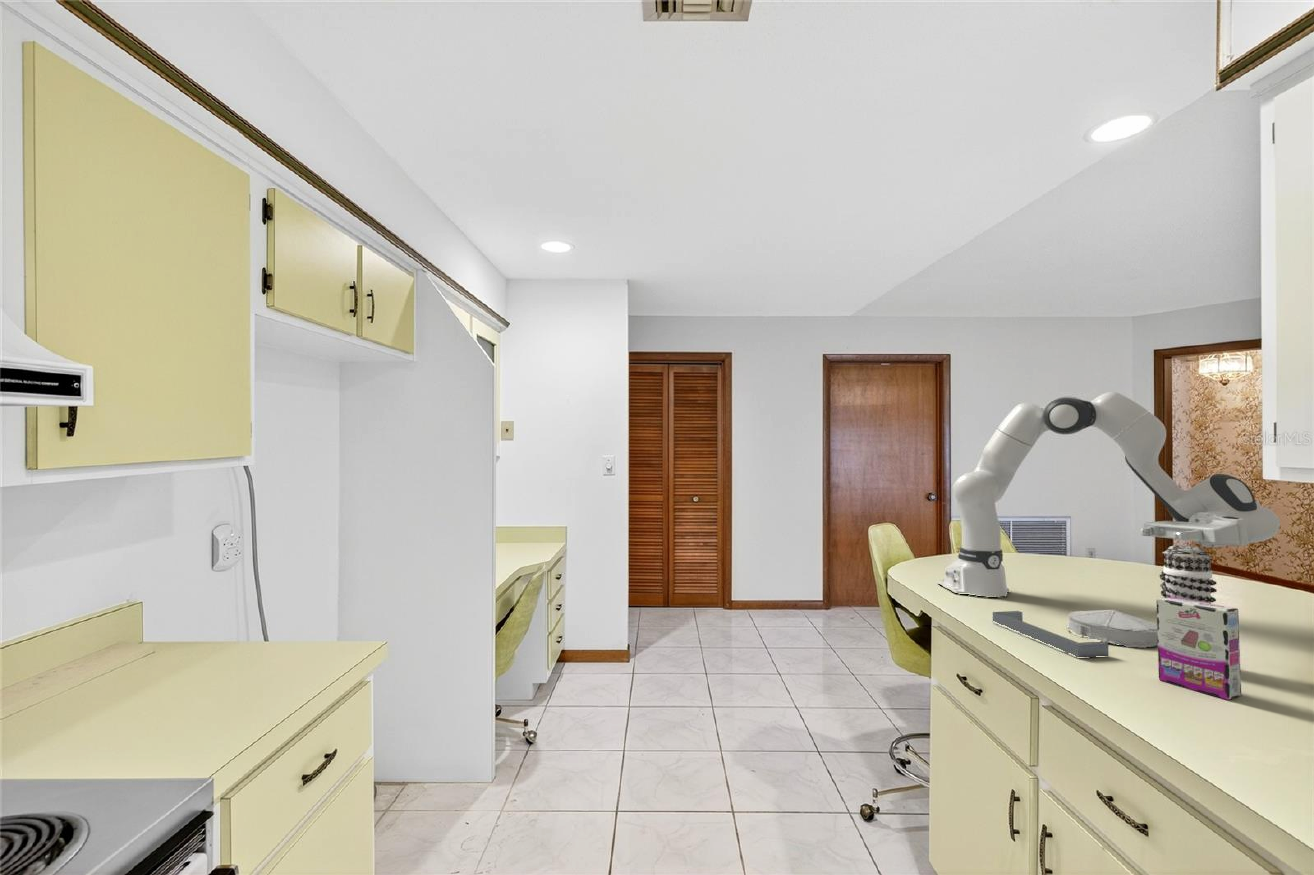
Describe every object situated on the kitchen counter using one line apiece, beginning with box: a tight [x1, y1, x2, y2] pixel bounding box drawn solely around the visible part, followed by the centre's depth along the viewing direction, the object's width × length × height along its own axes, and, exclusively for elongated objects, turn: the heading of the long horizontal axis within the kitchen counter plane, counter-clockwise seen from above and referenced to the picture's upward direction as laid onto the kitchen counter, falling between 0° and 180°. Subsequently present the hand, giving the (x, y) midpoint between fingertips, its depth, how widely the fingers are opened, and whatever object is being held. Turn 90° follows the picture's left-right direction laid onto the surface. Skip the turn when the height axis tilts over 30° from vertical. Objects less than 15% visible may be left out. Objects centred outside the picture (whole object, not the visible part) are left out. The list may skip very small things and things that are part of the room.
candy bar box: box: [1156, 596, 1242, 701], centre depth 115 cm, size 11×5×16 cm, turn 25°
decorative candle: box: [1159, 545, 1217, 604], centre depth 127 cm, size 9×9×25 cm
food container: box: [1067, 609, 1158, 649], centre depth 147 cm, size 20×20×7 cm
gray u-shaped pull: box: [992, 610, 1110, 657], centre depth 145 cm, size 27×8×3 cm, turn 8°
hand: (1159, 534), depth 149 cm, fingers open, 8 cm apart
